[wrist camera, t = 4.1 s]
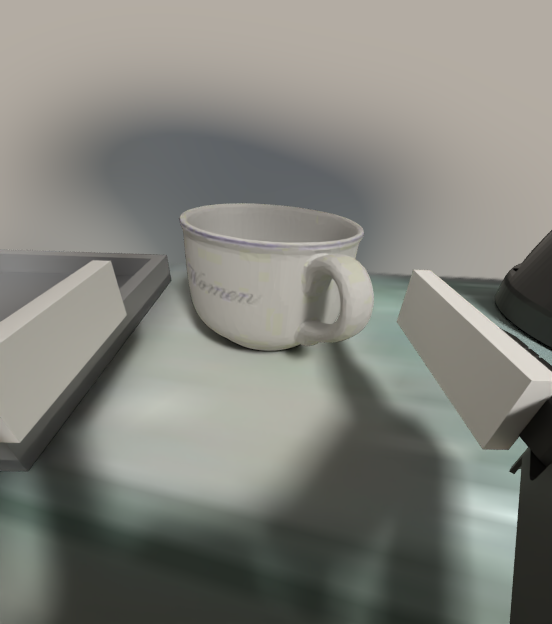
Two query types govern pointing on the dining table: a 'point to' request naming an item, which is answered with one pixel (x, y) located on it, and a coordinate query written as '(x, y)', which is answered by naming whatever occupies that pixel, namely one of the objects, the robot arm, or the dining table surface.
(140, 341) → the dining table surface
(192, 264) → the teacup
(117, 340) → the tray
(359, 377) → the dining table surface
